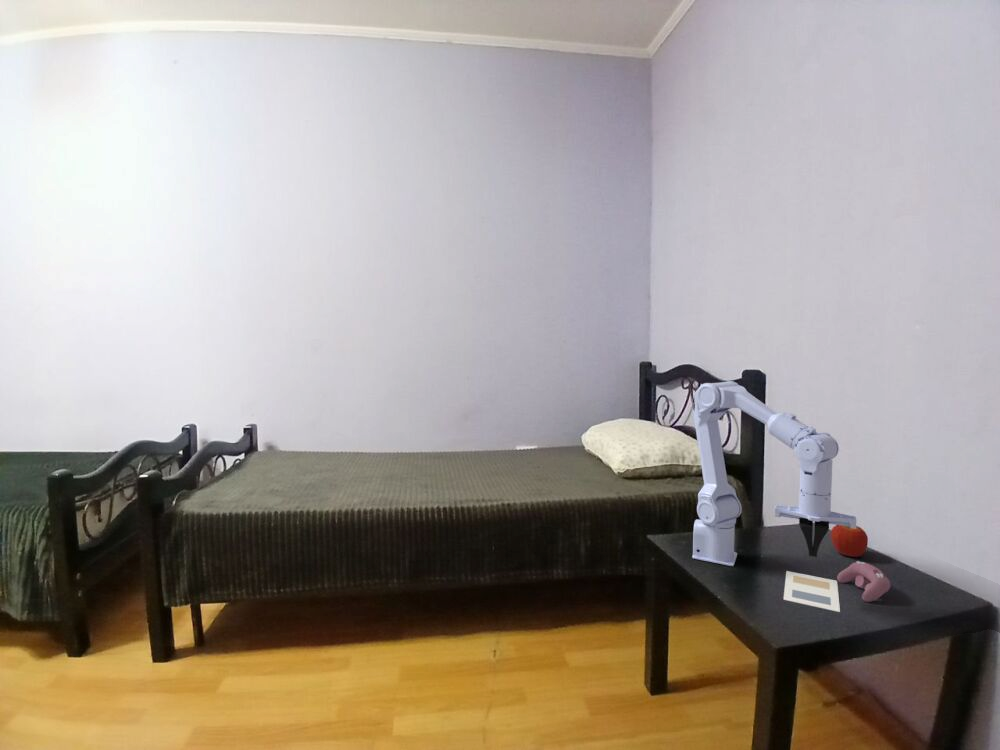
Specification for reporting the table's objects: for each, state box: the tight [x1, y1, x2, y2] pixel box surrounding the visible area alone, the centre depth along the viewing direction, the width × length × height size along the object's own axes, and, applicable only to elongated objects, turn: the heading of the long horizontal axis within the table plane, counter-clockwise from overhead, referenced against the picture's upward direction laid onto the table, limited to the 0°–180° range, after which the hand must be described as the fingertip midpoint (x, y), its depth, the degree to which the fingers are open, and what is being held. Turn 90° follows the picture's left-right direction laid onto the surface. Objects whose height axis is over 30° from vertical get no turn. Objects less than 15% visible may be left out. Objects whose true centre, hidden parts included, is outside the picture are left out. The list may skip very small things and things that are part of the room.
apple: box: [830, 525, 869, 558], centre depth 131 cm, size 8×8×8 cm
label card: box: [783, 570, 841, 613], centre depth 113 cm, size 10×15×1 cm, turn 149°
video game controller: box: [836, 560, 891, 603], centre depth 112 cm, size 10×5×7 cm, turn 179°
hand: (812, 554), depth 109 cm, fingers closed
